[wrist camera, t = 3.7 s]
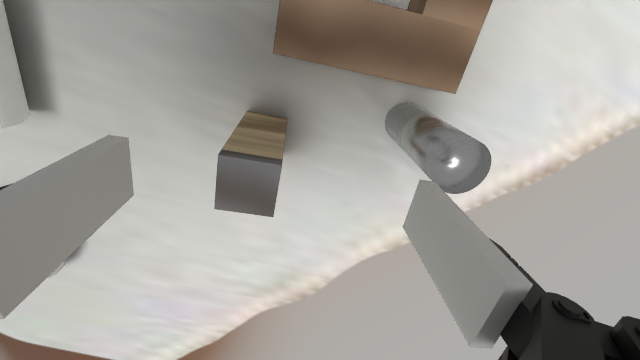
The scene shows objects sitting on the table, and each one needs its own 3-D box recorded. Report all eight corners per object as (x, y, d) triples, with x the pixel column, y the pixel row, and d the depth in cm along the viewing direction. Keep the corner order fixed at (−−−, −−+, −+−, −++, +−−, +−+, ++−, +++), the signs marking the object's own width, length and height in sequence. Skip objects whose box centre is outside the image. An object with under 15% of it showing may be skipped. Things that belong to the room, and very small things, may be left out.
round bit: (392, 98, 30) (446, 134, 19) (428, 106, 30) (501, 145, 19) (380, 136, 31) (424, 189, 20) (415, 143, 32) (475, 197, 21)
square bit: (247, 110, 29) (217, 154, 18) (287, 118, 30) (281, 165, 19) (243, 148, 31) (214, 209, 20) (281, 155, 31) (273, 217, 21)
